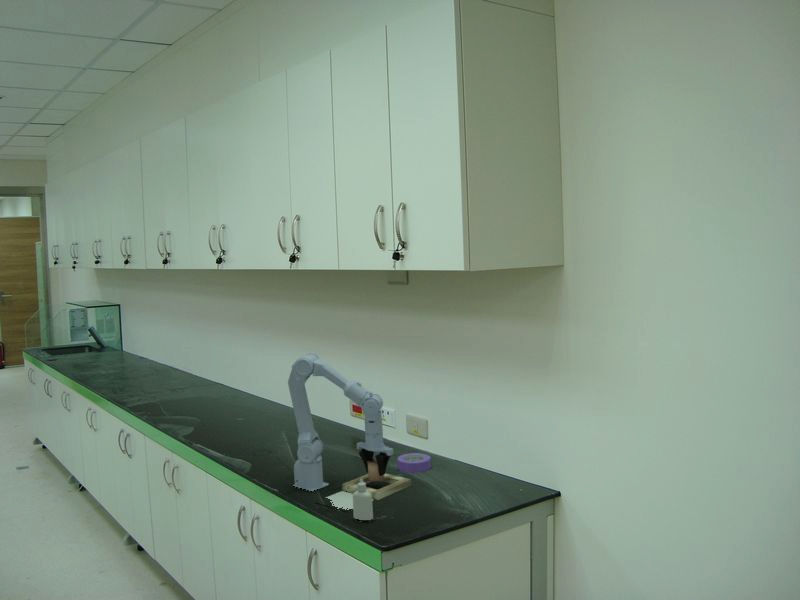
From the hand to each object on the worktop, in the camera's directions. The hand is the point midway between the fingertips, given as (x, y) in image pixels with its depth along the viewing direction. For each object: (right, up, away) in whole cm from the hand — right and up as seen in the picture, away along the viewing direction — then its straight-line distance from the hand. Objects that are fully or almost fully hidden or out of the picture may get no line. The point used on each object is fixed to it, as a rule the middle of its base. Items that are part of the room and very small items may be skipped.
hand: (375, 473), depth 229 cm
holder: (0, -5, 0) cm, 5 cm away
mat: (-9, -6, -11) cm, 16 cm away
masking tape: (+13, -3, +20) cm, 24 cm away
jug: (0, -2, 0) cm, 2 cm away
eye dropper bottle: (-3, -7, -26) cm, 27 cm away
